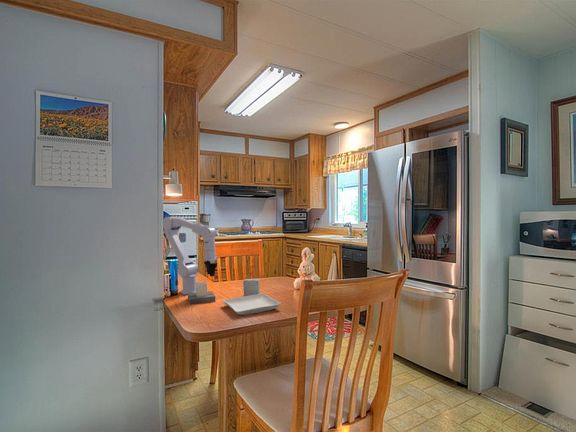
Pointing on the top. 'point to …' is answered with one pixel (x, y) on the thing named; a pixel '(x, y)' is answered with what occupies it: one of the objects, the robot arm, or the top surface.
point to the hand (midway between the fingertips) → (211, 275)
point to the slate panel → (201, 298)
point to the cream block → (201, 289)
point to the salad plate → (252, 304)
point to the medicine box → (251, 287)
